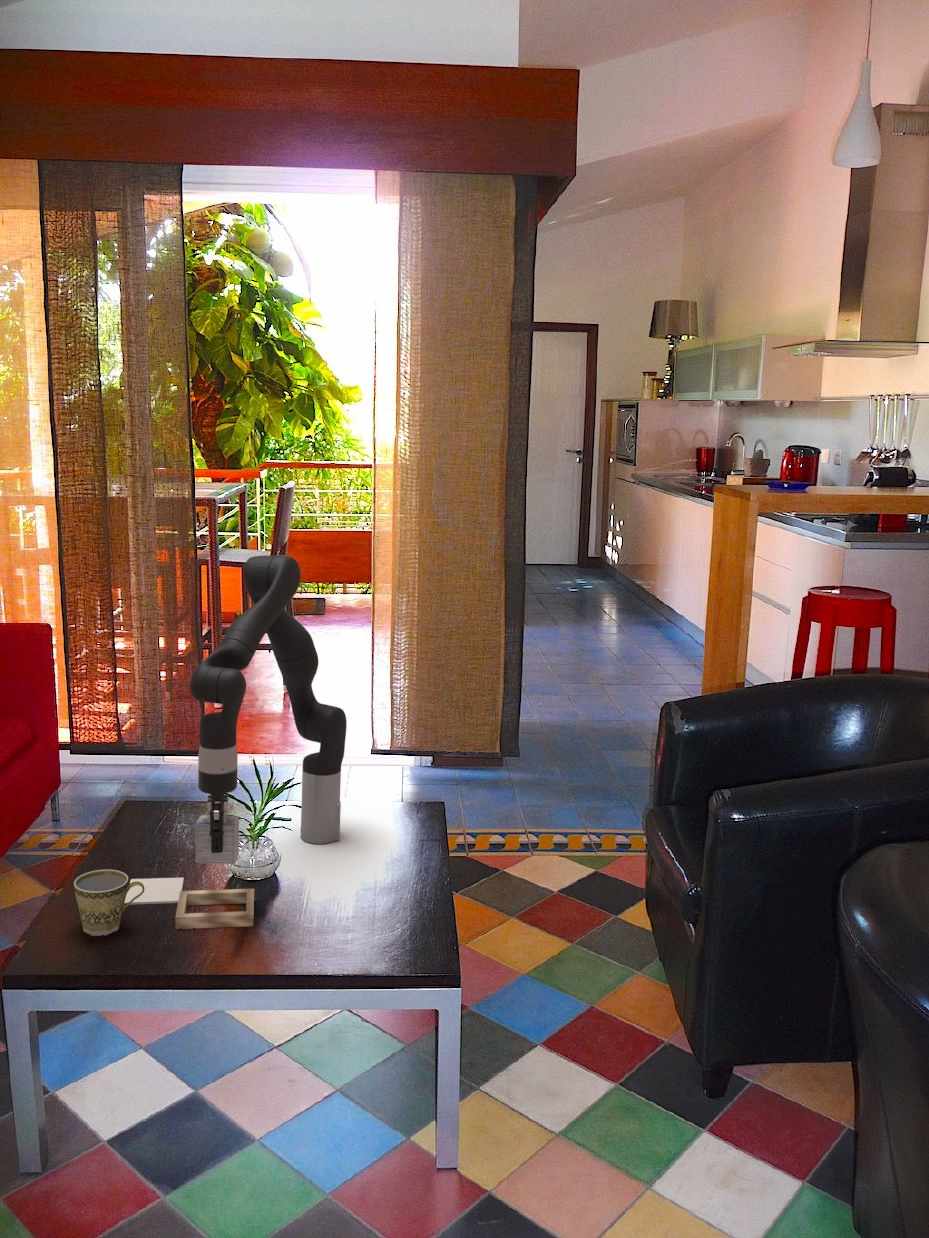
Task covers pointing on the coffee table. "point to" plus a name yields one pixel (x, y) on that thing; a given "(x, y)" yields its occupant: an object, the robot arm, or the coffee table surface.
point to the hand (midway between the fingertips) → (217, 846)
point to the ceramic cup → (102, 900)
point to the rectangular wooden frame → (215, 918)
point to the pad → (155, 891)
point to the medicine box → (229, 841)
